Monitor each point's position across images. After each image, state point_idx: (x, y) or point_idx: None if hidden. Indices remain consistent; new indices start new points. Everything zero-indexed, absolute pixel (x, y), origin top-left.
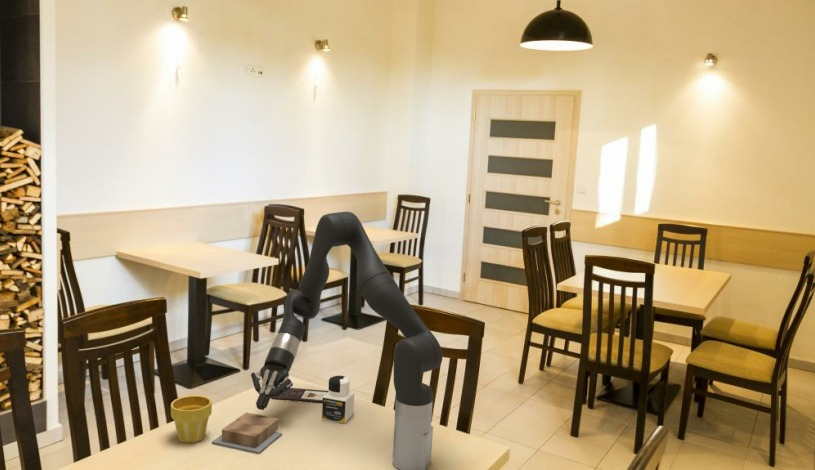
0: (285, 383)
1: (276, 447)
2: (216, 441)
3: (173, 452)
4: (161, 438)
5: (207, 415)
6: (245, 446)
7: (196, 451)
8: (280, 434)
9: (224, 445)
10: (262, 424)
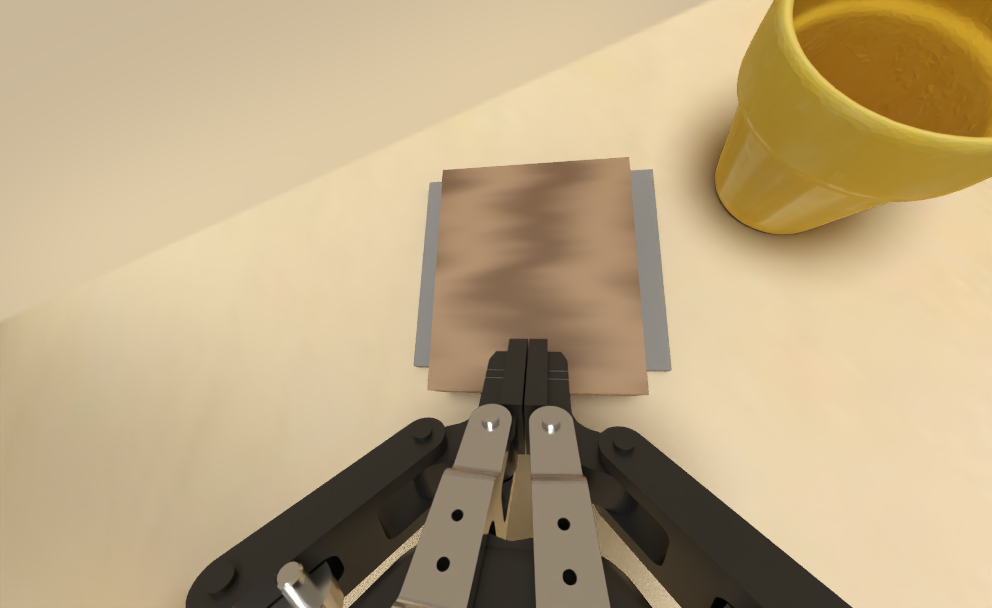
0: (275, 537)
1: (395, 258)
2: (635, 178)
3: (735, 65)
4: None
5: (742, 84)
6: None
7: (661, 107)
8: (415, 350)
9: None
10: (474, 289)
